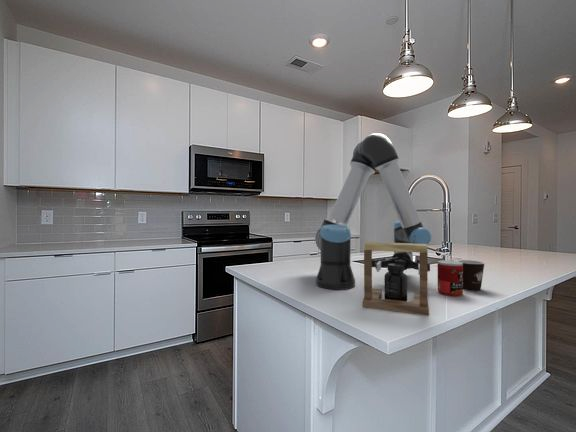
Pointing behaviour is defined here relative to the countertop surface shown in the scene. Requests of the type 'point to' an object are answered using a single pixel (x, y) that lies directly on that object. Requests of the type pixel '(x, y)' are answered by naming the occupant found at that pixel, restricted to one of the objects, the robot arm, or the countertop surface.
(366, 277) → the notched shelf
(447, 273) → the canned food
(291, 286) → the countertop surface
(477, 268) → the coffee mug
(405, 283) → the supplement bottle
